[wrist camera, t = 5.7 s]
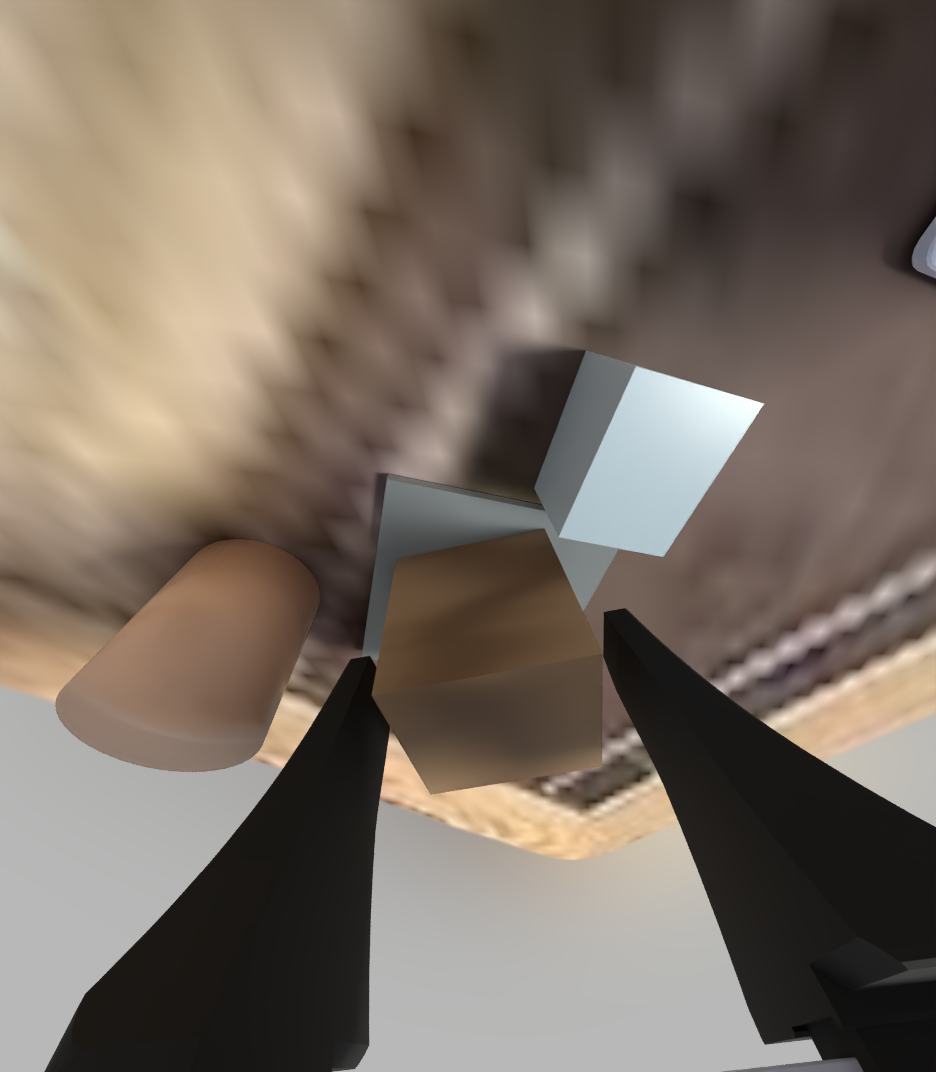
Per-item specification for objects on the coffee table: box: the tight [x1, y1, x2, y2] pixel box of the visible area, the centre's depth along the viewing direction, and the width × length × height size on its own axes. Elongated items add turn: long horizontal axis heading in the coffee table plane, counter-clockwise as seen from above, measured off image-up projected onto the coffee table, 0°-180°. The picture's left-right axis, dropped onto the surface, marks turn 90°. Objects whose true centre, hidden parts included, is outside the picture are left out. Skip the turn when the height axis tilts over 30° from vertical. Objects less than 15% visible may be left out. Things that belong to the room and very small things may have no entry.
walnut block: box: [372, 529, 602, 794], centre depth 11 cm, size 5×5×5 cm
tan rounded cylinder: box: [56, 539, 320, 772], centre depth 11 cm, size 4×4×5 cm
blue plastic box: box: [534, 351, 764, 557], centre depth 9 cm, size 3×4×3 cm
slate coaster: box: [362, 474, 619, 660], centre depth 13 cm, size 8×8×1 cm
